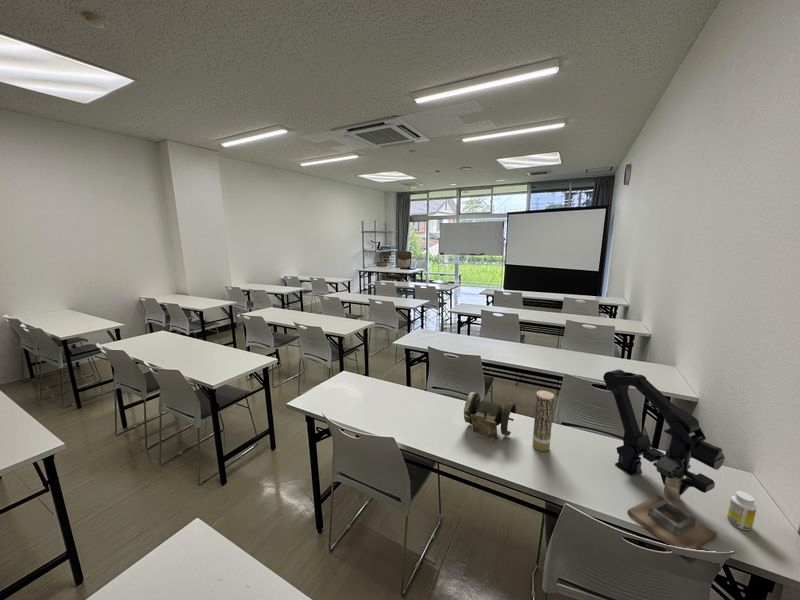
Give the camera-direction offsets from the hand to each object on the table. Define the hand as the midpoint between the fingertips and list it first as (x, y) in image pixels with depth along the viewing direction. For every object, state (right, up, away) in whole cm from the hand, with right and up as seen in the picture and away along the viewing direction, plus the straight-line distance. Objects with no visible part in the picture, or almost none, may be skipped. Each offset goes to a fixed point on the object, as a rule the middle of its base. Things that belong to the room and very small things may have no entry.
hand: (672, 489), depth 113 cm
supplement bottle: (+12, -5, -11) cm, 17 cm away
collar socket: (-10, -5, -11) cm, 16 cm away
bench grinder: (-55, +4, +38) cm, 67 cm away
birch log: (-35, +2, +27) cm, 44 cm away
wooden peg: (0, -3, +1) cm, 2 cm away
